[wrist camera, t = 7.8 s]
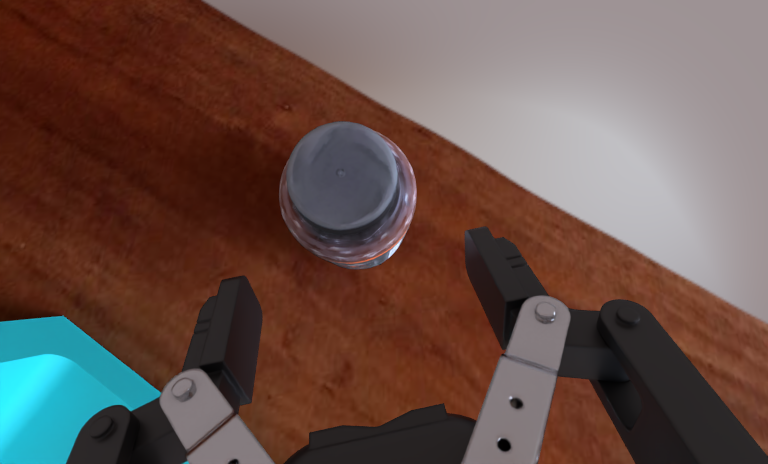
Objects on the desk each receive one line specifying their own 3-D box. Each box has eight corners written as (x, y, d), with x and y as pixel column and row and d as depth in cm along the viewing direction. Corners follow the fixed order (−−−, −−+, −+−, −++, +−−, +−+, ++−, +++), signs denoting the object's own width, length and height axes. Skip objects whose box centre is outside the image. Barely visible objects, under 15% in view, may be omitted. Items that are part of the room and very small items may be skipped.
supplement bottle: (299, 255, 25) (229, 229, 14) (328, 166, 26) (284, 73, 14) (391, 282, 25) (397, 278, 13) (417, 192, 25) (443, 117, 14)
